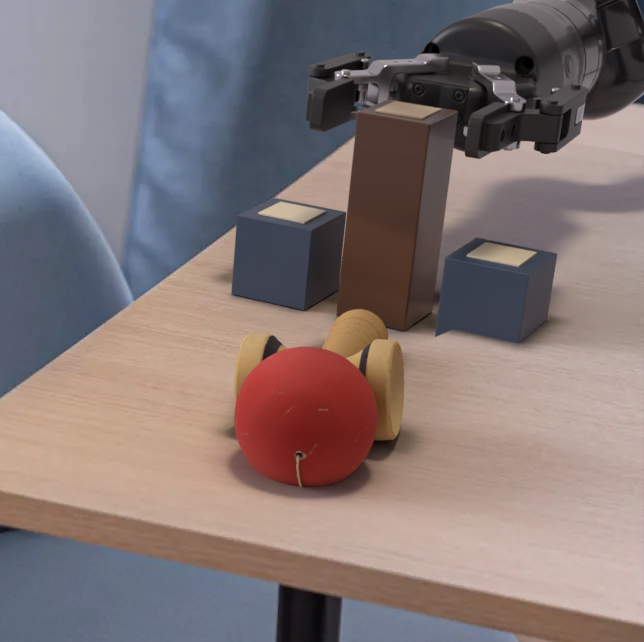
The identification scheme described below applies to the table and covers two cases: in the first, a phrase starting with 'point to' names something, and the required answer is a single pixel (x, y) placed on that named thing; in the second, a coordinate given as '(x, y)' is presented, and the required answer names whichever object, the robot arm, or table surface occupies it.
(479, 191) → the table surface
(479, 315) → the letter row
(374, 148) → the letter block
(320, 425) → the kendama
